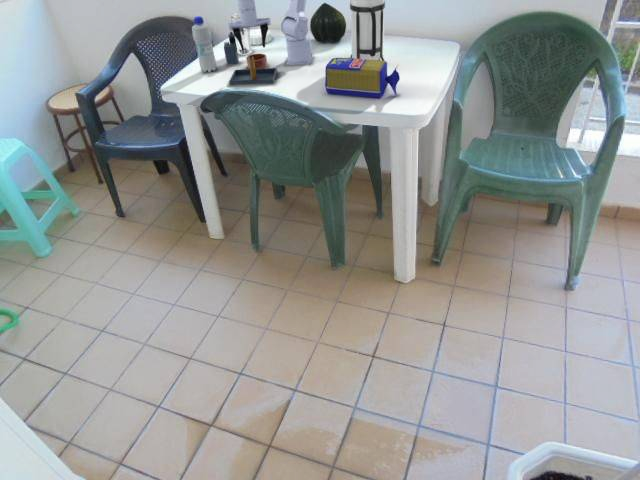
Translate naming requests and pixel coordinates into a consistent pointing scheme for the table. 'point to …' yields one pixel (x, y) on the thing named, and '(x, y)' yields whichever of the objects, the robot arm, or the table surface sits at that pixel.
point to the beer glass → (242, 36)
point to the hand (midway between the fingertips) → (253, 48)
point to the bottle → (204, 45)
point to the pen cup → (258, 61)
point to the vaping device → (231, 50)
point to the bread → (359, 77)
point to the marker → (252, 67)
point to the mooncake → (258, 36)
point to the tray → (245, 78)
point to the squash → (327, 24)
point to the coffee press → (367, 29)
